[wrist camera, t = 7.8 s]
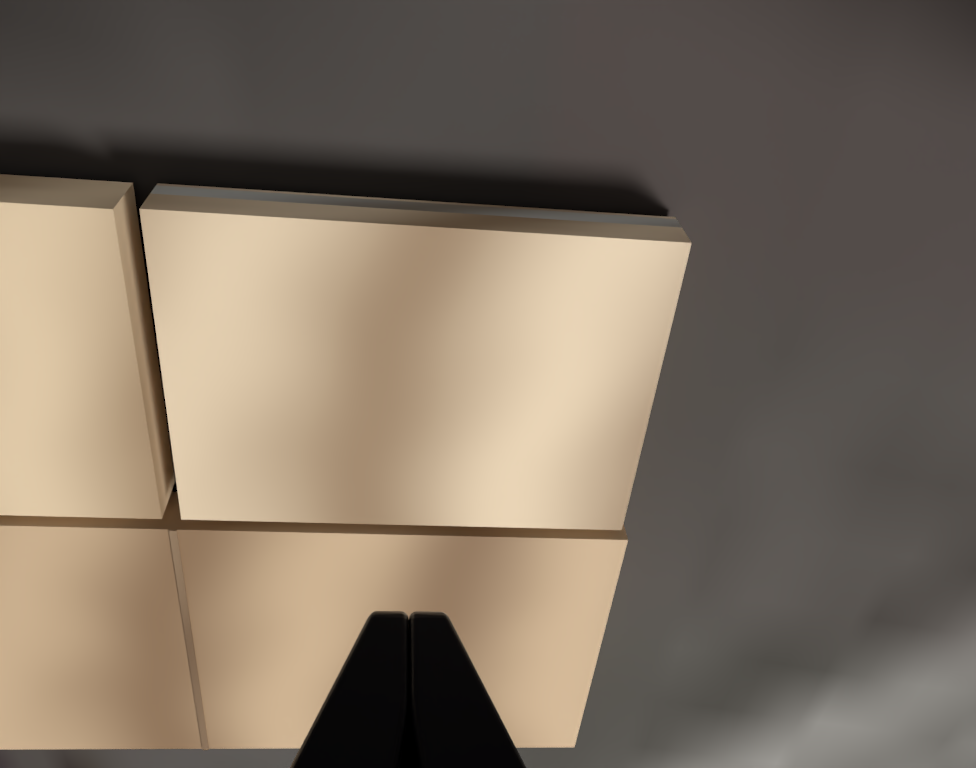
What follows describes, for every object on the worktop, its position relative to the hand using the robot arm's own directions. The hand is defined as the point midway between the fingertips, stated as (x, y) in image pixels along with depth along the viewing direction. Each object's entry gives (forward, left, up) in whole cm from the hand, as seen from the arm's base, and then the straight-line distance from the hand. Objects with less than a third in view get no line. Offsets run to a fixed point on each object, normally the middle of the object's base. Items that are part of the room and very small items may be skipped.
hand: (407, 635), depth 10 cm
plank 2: (0, +2, -9) cm, 9 cm away
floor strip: (+5, +10, -9) cm, 14 cm away
